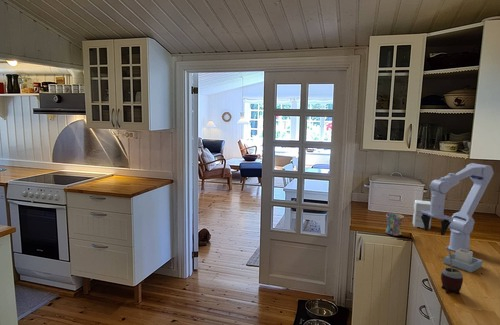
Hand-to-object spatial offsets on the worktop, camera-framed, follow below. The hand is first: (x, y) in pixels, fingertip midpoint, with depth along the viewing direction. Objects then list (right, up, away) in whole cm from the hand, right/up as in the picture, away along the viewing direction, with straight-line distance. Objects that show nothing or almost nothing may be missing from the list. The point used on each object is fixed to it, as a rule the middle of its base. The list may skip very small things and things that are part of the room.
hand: (434, 232), depth 165 cm
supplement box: (+15, -5, +43) cm, 46 cm away
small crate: (+5, -11, -13) cm, 18 cm away
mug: (-9, -7, +25) cm, 28 cm away
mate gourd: (-14, -15, -36) cm, 41 cm away
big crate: (+6, -12, -13) cm, 18 cm away
